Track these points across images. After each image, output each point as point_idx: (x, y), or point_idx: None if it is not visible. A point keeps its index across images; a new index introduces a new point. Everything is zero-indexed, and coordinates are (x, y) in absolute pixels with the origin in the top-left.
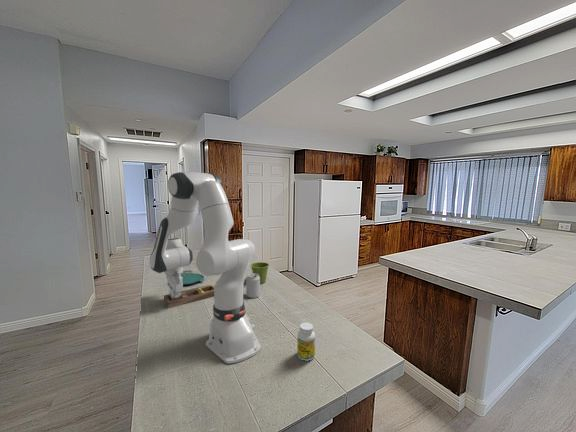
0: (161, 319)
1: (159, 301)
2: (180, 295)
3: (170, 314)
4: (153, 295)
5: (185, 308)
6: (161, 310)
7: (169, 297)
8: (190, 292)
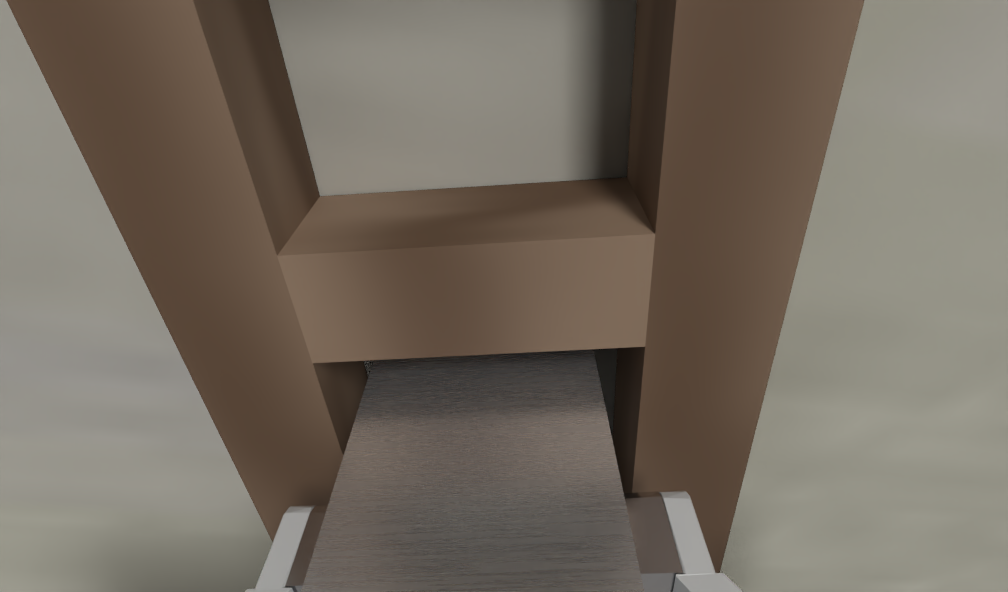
0: (956, 569)
1: None
2: (607, 435)
3: (927, 490)
4: (87, 583)
5: (950, 285)
6: None
7: None
8: (237, 49)
